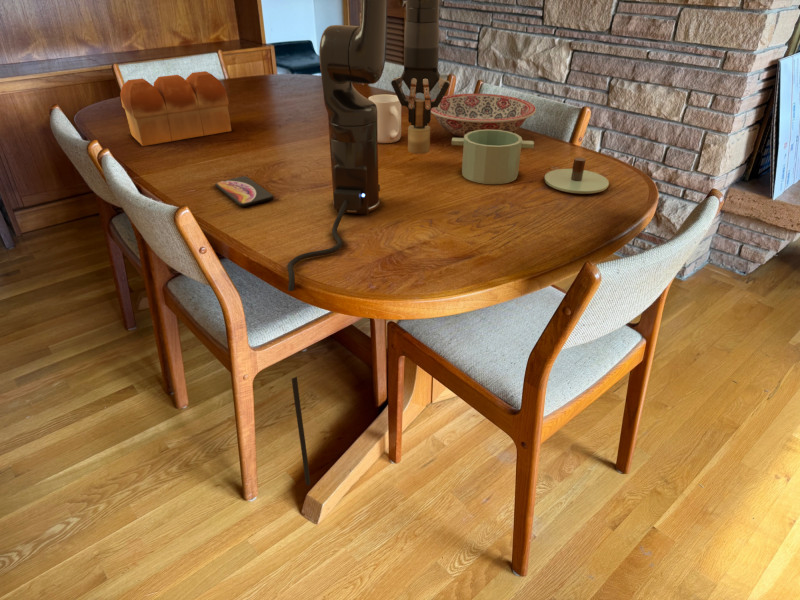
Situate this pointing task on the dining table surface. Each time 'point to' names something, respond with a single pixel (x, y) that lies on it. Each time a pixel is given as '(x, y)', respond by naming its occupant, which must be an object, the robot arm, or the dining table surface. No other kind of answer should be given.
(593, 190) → the lid
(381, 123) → the mug
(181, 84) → the bread
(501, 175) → the pot
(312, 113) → the dining table surface
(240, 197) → the smartphone
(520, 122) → the ceramic bowl
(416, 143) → the rubber stamp
